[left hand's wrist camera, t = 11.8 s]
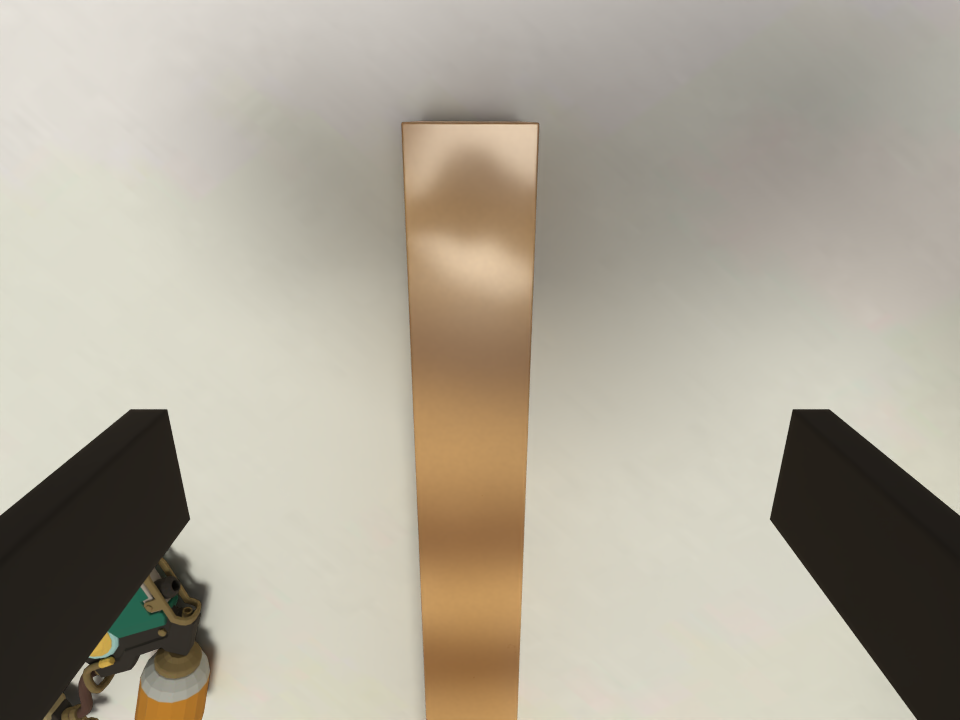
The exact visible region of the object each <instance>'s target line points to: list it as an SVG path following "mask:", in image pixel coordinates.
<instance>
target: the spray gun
mask: <svg viewBox="0 0 960 720" xmlns="http://www.w3.org/2000/svg"><path fill="white" fill-rule="evenodd" d="M158 564H159V565H160V567H161V568H162V570H163V571H164V573H165V574H166V576H167V577H164V578H161V577H160V575H159V574H158V572H157V570H156V569H155V568H154V569H153V570H152V572H151V573H150V575H149V576H148V577H147V579H146V580H145V581H144V583H143V584H142V585H141V587H140V588H139V589H138V591H137V592H136V594H135V595H134V596H133V598H132V599H131V600H130V602H129V603H128V604H127V606H126V607H125V609H124V610H123V611H122V613H121V614H120V615H119V617H118V618H117V619H116V621H115V622H114V624H113V625H112V626H111V628H110V629H109V630H108V632H107V633H106V634H105V636H104V637H103V638H102V640H101V641H100V643H99V644H98V645H97V647H96V648H95V649H94V651H93V652H92V653H91V655H90V656H89V658H88V659H87V660H86V663H88V664H90V665H89V666H87V667H86V668H85V669H84V671H83V674H82V676H81V678H80V681H79V698H80V702H81V704H77V705H75V706H72V705H71V704H70V702H69V701H68V700H67V699H66V696H65V695H64V694H63V693H62V694H61V696H60V697H59V698H58V700H57V701H56V702H55V704H54V705H53V707H52V708H51V709H50V711H49V712H48V713H47V715H46V716H45V717H44V719H43V720H98V719H97V718H94V717H90V718H87V717H86V715H87V714H88V713H90V711H91V709H92V707H93V700H92V695H91V693H100V692H102V691H103V690H104V689H105V688H106V687H107V685H108V684H109V683H110V682H111V680H112V678H113V677H114V675H115V674H117V673H120V672H124V671H128V670H131V669H132V668H133V667H134V665H135V664H136V662H137V661H138V659H139V657H140V655H141V654H144V653H147V652H150V651H153V650H156V649H158V651H157V652H156V653H155V654H154V655H153V656H152V657H151V658H150V659H149V660H148V662H147V664H146V666H145V668H144V670H143V673H142V675H141V677H140V684H139V691H138V698H137V706H136V713H135V720H202V717H203V713H204V709H205V702H206V696H207V689H208V683H209V676H210V668H209V663H208V659H207V656H206V654H205V653H204V652H203V651H202V650H201V647H200V646H199V645H198V643H197V642H195V638H196V633H197V629H198V624H199V619H200V615H201V613H200V610H201V603H200V601H199V600H197V599H194V598H191V597H189V595H188V594H187V592H186V591H185V589H184V588H183V586H182V585H181V583H180V581H179V580H178V579H177V577H176V575H175V574H174V572H173V571H172V569H171V568H170V566H169V565H168V563H167V562H166V560H165V559H164V558H161V560H160V561H159V562H158ZM177 594H179V595H180V597H181V598H182V600H183V601H184V603H187V604H191V605H193V606H195V607H196V610H195V611H193V609H192V608H191V607H185V608H178V607H176V604H177V601H178V595H177ZM96 675H100V676H101V677H105V678H104V679H103V680H102V682H101V683H100V684H99V685H96V683H95V682H94V680H93V677H94V676H96Z"/></svg>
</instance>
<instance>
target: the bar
mask: <svg viewBox="0 0 960 720" xmlns="http://www.w3.org/2000/svg"><path fill="white" fill-rule="evenodd" d="M401 128H402V152H403V175H404V199H405V223H406V247H407V271H408V295H409V319H410V343H411V366H412V390H413V414H414V438H415V462H416V486H417V510H418V534H419V557H420V581H421V605H422V629H423V653H424V677H425V701H426V720H517V710H518V683H519V656H520V629H521V602H522V575H523V548H524V521H525V494H526V467H527V440H528V413H529V387H530V360H531V333H532V306H533V279H534V252H535V225H536V198H537V171H538V144H539V123H537V122H522V121H413V122H402V124H401Z"/></svg>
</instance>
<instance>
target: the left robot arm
mask: <svg viewBox="0 0 960 720" xmlns="http://www.w3.org/2000/svg"><path fill="white" fill-rule="evenodd" d="M189 520H190V517H189V512H188V507H187V502H186V497H185V493H184V488H183V483H182V478H181V473H180V469H179V464H178V459H177V454H176V449H175V445H174V440H173V435H172V430H171V425H170V421H169V416H168V411H167V409H131V410H129V411H128V412H127V413H126V414H124V415H123V416H122V417H121V418H120V419H118V420H117V421H116V422H115V423H113V424H112V425H111V426H110V427H108V428H107V429H106V430H105V431H104V432H102V433H101V434H100V435H99V436H97V437H96V438H95V439H94V440H93V441H91V442H90V443H89V444H88V445H86V446H85V447H84V448H83V449H81V450H80V451H79V452H78V453H77V454H75V455H74V456H73V457H72V458H70V459H69V460H68V461H67V462H66V463H64V464H63V465H62V466H61V467H59V468H58V469H57V470H56V471H54V472H53V473H52V474H51V475H50V476H48V477H47V478H46V479H45V480H43V481H42V482H41V483H40V484H39V485H37V486H36V487H35V488H34V489H32V490H31V491H30V492H29V493H27V494H26V495H25V496H24V497H23V498H21V499H20V500H19V501H18V502H16V503H15V504H14V505H13V506H12V507H10V508H9V509H8V510H7V511H5V512H4V513H3V514H2V515H0V720H43V719H44V717H45V716H46V715H47V713H48V712H49V711H50V709H51V708H52V707H53V705H54V704H55V702H56V701H57V700H58V698H59V697H60V696H61V694H62V693H63V692H64V690H65V689H66V687H67V686H68V685H69V683H70V682H71V681H72V679H73V678H74V677H75V675H76V674H77V672H78V671H79V670H80V668H81V667H82V666H83V664H84V663H85V662H86V660H87V659H88V658H89V656H90V655H91V653H92V652H93V651H94V649H95V648H96V647H97V645H98V644H99V643H100V641H101V640H102V638H103V637H104V636H105V634H106V633H107V632H108V630H109V629H110V628H111V626H112V625H113V624H114V622H115V621H116V619H117V618H118V617H119V615H120V614H121V613H122V611H123V610H124V609H125V607H126V606H127V604H128V603H129V602H130V600H131V599H132V598H133V596H134V595H135V594H136V592H137V591H138V589H139V588H140V587H141V585H142V584H143V583H144V581H145V580H146V579H147V577H148V576H149V575H150V573H151V572H152V570H153V569H154V568H155V566H156V565H157V564H158V562H159V561H160V560H161V558H162V557H163V555H164V554H165V553H166V551H167V550H168V549H169V547H170V546H171V545H172V543H173V542H174V540H175V539H176V538H177V536H178V535H179V534H180V532H181V531H182V530H183V528H184V527H185V526H186V524H187V523H188V521H189ZM770 520H771V521H772V523H773V524H774V526H775V527H776V528H777V530H778V531H779V532H780V534H781V535H782V536H783V538H784V539H785V540H786V542H787V543H788V545H789V546H790V547H791V549H792V550H793V551H794V553H795V554H796V555H797V557H798V558H799V560H800V561H801V562H802V564H803V565H804V566H805V568H806V569H807V570H808V572H809V573H810V575H811V576H812V577H813V579H814V580H815V581H816V583H817V584H818V585H819V587H820V588H821V589H822V591H823V592H824V594H825V595H826V596H827V598H828V599H829V600H830V602H831V603H832V604H833V606H834V607H835V609H836V610H837V611H838V613H839V614H840V615H841V617H842V618H843V619H844V621H845V622H846V624H847V625H848V626H849V628H850V629H851V630H852V632H853V633H854V634H855V636H856V637H857V638H858V640H859V641H860V643H861V644H862V645H863V647H864V648H865V649H866V651H867V652H868V653H869V655H870V656H871V658H872V659H873V660H874V662H875V663H876V664H877V666H878V667H879V668H880V670H881V671H882V672H883V674H884V675H885V677H886V678H887V679H888V681H889V682H890V683H891V685H892V686H893V687H894V689H895V690H896V692H897V693H898V694H899V696H900V697H901V698H902V700H903V701H904V702H905V704H906V705H907V707H908V708H909V709H910V711H911V712H912V713H913V715H914V716H915V717H916V719H917V720H960V515H958V514H957V513H956V512H955V511H953V510H952V509H951V508H950V507H948V506H947V505H946V504H945V503H944V502H942V501H941V500H940V499H939V498H937V497H936V496H935V495H934V494H933V493H931V492H930V491H929V490H928V489H926V488H925V487H924V486H923V485H921V484H920V483H919V482H918V481H917V480H915V479H914V478H913V477H912V476H910V475H909V474H908V473H907V472H906V471H904V470H903V469H902V468H901V467H899V466H898V465H897V464H896V463H894V462H893V461H892V460H891V459H890V458H888V457H887V456H886V455H885V454H883V453H882V452H881V451H880V450H879V449H877V448H876V447H875V446H874V445H872V444H871V443H870V442H869V441H867V440H866V439H865V438H864V437H863V436H861V435H860V434H859V433H858V432H856V431H855V430H854V429H853V428H852V427H850V426H849V425H848V424H847V423H845V422H844V421H843V420H842V419H840V418H839V417H838V416H837V415H836V414H834V413H833V412H832V411H831V410H829V409H793V411H792V416H791V421H790V425H789V430H788V435H787V440H786V445H785V449H784V454H783V459H782V464H781V469H780V473H779V478H778V483H777V488H776V493H775V497H774V502H773V507H772V512H771V517H770Z"/></svg>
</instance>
